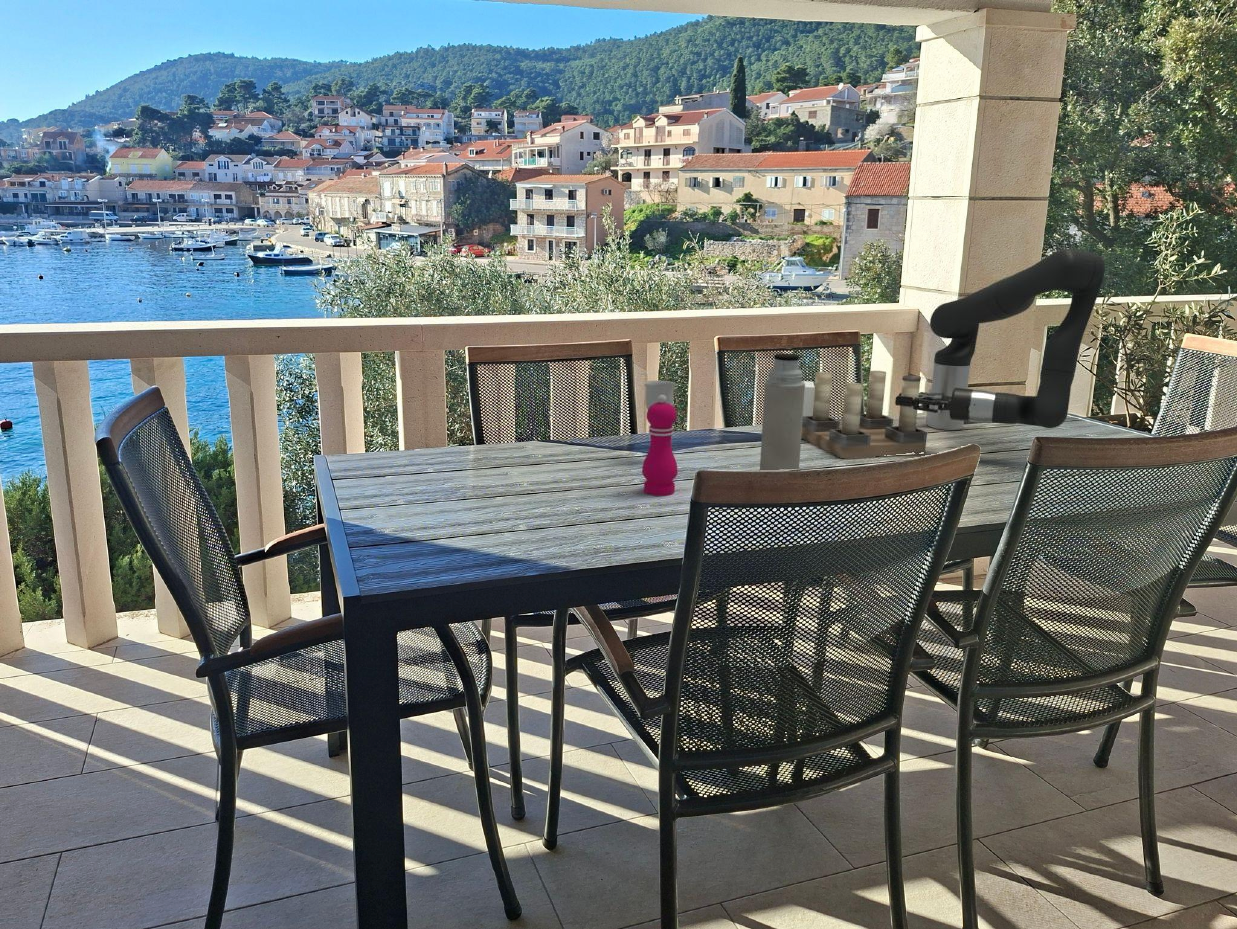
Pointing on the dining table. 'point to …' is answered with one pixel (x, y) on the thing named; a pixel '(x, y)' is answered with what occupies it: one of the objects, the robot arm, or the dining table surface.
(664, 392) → the chalice
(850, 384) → the stool seat
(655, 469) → the pepper mill
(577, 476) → the dining table surface
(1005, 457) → the dining table surface
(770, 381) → the thermos bottle
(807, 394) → the base with upright slab
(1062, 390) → the robot arm
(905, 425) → the loose leg
